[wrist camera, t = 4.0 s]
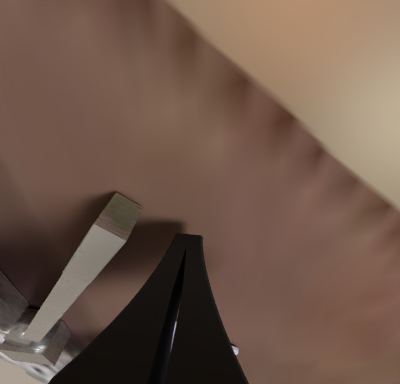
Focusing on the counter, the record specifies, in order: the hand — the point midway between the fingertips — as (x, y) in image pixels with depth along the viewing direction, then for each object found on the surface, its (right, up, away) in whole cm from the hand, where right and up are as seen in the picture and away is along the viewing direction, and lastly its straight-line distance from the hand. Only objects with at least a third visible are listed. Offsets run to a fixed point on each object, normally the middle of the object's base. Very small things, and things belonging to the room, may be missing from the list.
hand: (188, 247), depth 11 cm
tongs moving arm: (-10, -4, +5) cm, 12 cm away
